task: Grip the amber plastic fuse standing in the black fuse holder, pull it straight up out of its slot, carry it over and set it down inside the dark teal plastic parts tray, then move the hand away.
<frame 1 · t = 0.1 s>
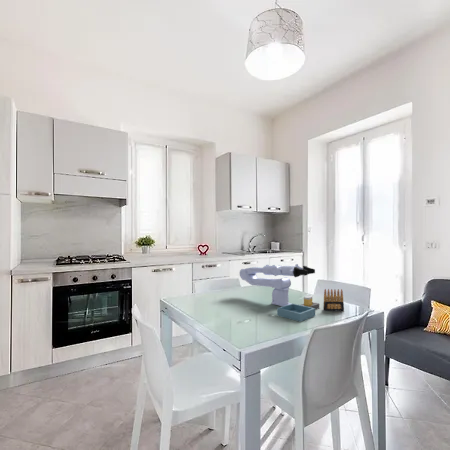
hand: (311, 271, 159), 22 cm above the table, tool horizontal, fingers open, 7 cm apart
fuse: (308, 309, 162), resting in fuse holder
fuse holder: (308, 309, 162), on the table
parts tray: (296, 315, 151), on the table
ammunition clip: (333, 310, 160), on the table
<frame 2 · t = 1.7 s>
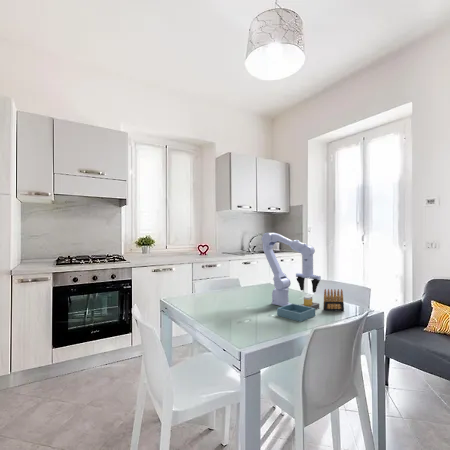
hand: (308, 291, 163), 10 cm above the table, tool pointing down, fingers open, 7 cm apart
nothing on the table moved.
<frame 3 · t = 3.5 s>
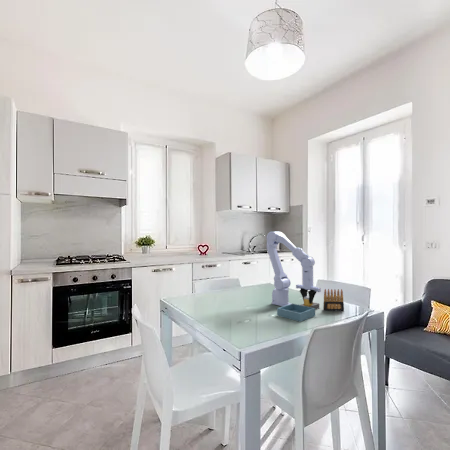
hand: (308, 302, 163), 4 cm above the table, tool pointing down, fingers closed on fuse, 3 cm apart
fuse: (308, 309, 162), resting in fuse holder, touching gripper
everything else where it was.
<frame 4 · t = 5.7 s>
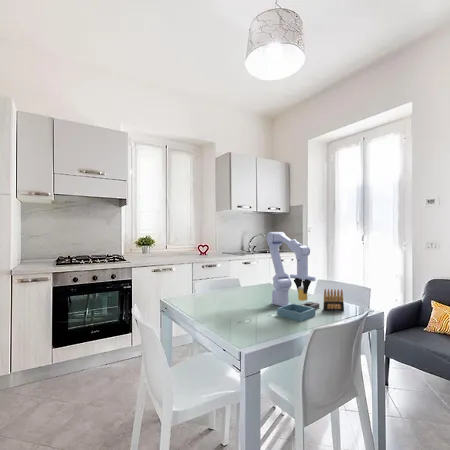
hand: (302, 292, 157), 10 cm above the table, tool pointing down, fingers closed on fuse, 3 cm apart
fuse: (302, 299, 157), point 7 cm above the table, touching gripper
everything else where it was.
when the fingers open (5 cm above the table, at t = 8.0 s): fuse stays where it is, resting on parts tray.
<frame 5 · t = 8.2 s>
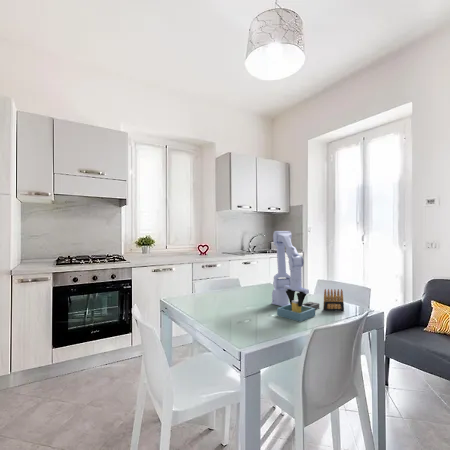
hand: (296, 305, 151), 5 cm above the table, tool pointing down, fingers open, 5 cm apart
fuse: (296, 313, 151), point 1 cm above the table, touching parts tray
everything else where it was.
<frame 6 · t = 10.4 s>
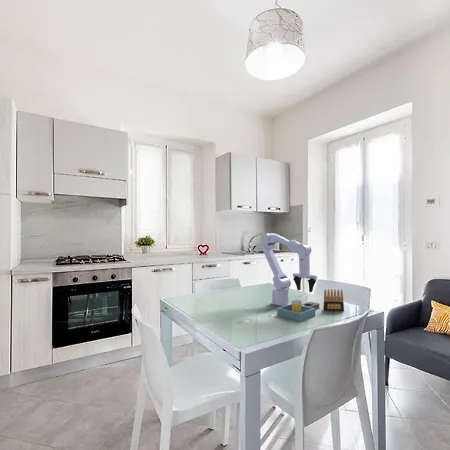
hand: (304, 291, 162), 10 cm above the table, tool pointing down, fingers open, 7 cm apart
nothing on the table moved.
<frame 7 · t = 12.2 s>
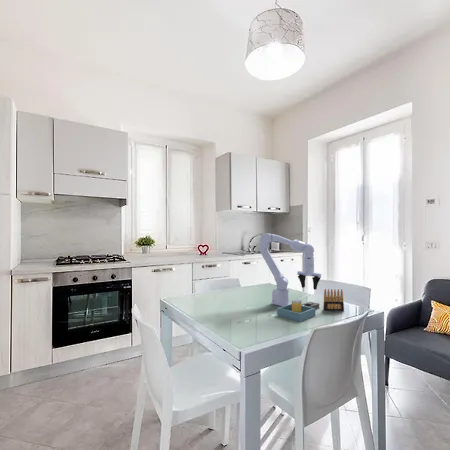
hand: (309, 288, 169), 10 cm above the table, tool pointing down, fingers open, 7 cm apart
nothing on the table moved.
at the end: fuse inside the target area on the parts tray (0.3 cm from its centre), point 0.8 cm above the parts tray's base; fuse moved 14.8 cm from its start; the gripper is holding nothing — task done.
